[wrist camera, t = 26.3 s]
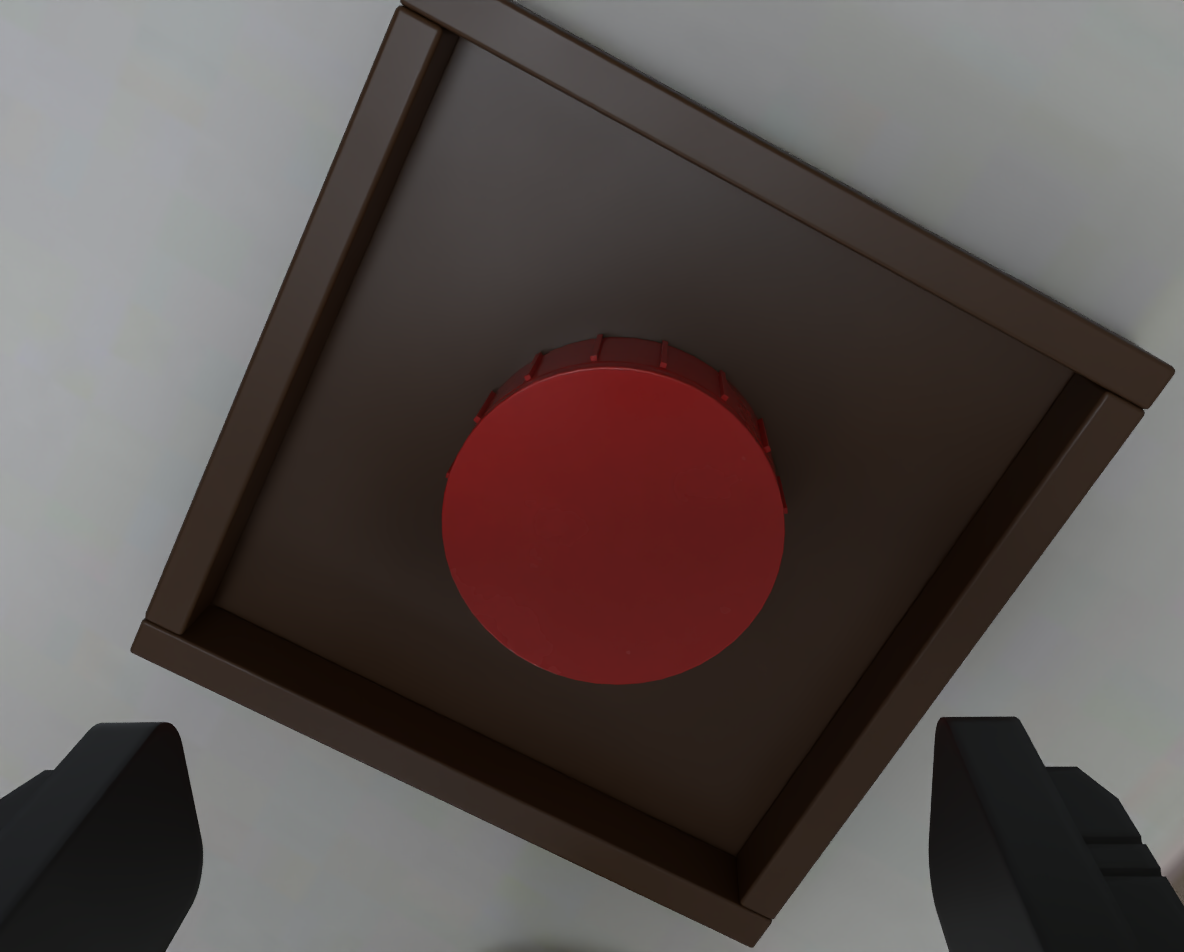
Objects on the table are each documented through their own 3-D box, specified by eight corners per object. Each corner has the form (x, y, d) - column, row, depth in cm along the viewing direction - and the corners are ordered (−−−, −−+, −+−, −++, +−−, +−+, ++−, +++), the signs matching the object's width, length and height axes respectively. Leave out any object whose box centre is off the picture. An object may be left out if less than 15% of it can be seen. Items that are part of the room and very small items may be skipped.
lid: (548, 276, 20) (532, 300, 18) (837, 429, 20) (855, 469, 18) (413, 545, 22) (385, 594, 20) (680, 678, 22) (680, 739, 20)
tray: (747, 886, 24) (753, 950, 23) (170, 608, 23) (127, 652, 21) (1134, 344, 20) (1180, 370, 18) (443, -38, 19) (418, -50, 17)
